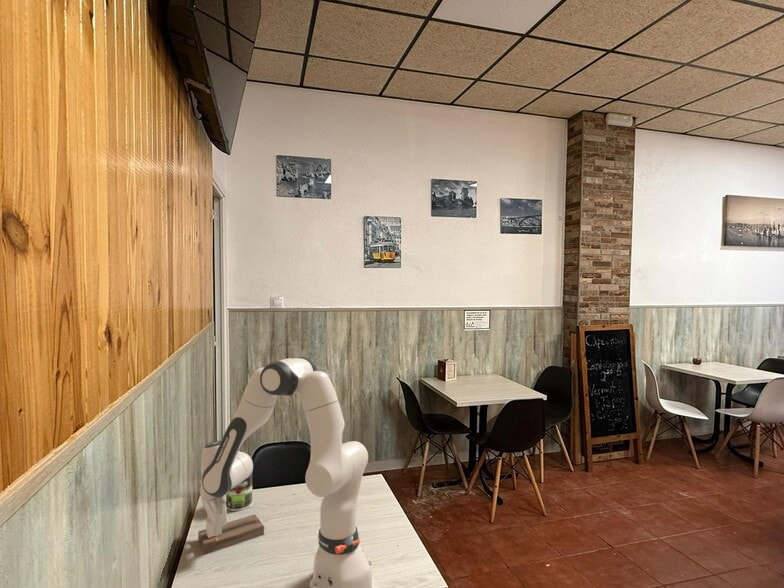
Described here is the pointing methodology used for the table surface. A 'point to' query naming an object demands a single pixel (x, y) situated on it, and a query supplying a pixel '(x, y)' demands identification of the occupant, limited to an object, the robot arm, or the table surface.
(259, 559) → the table surface
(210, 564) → the table surface
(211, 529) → the fader tab
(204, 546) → the brown slider board
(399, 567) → the table surface
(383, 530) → the table surface
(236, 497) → the coffee can
